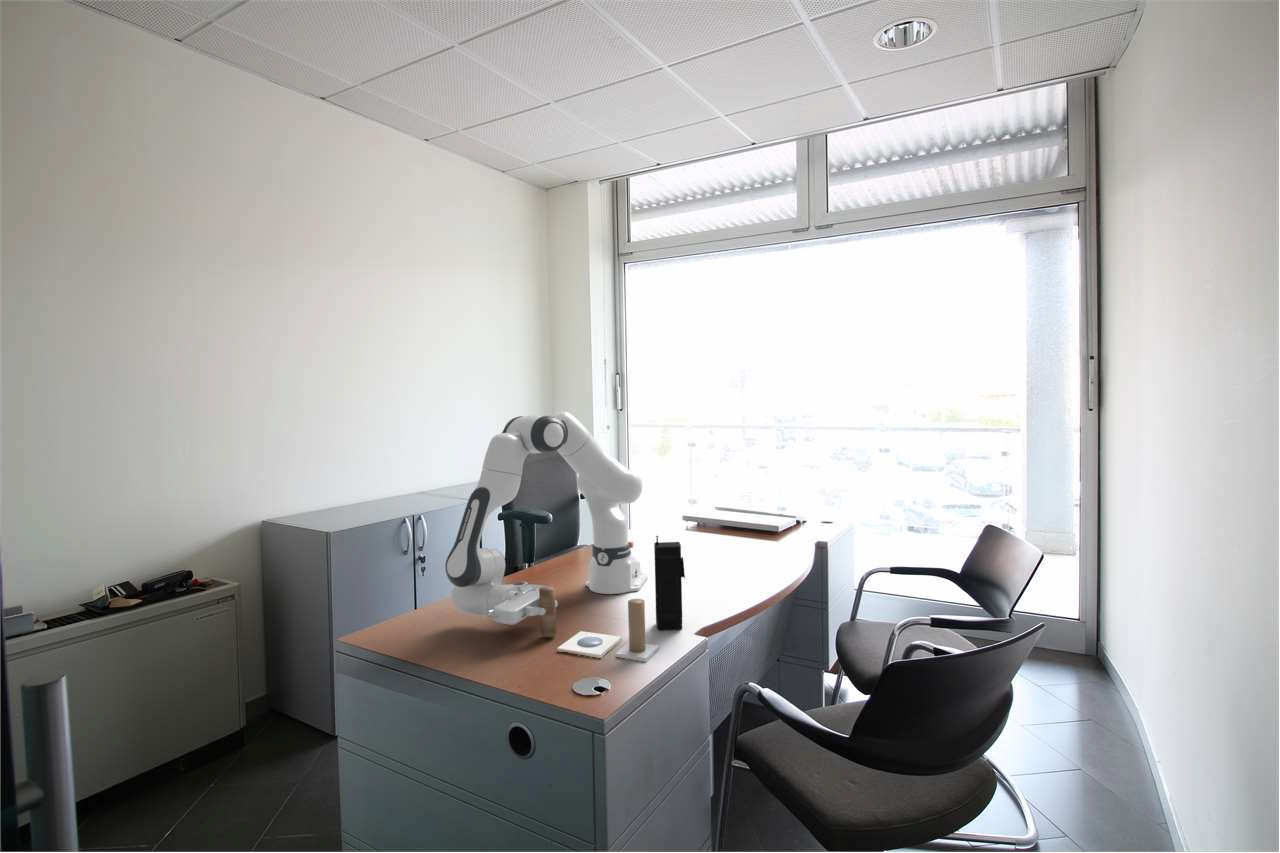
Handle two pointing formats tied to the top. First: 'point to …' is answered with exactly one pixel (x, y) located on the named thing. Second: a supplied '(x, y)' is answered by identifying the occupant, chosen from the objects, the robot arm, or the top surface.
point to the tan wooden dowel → (637, 634)
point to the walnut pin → (548, 611)
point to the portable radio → (668, 585)
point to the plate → (590, 643)
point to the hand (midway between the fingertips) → (550, 607)
